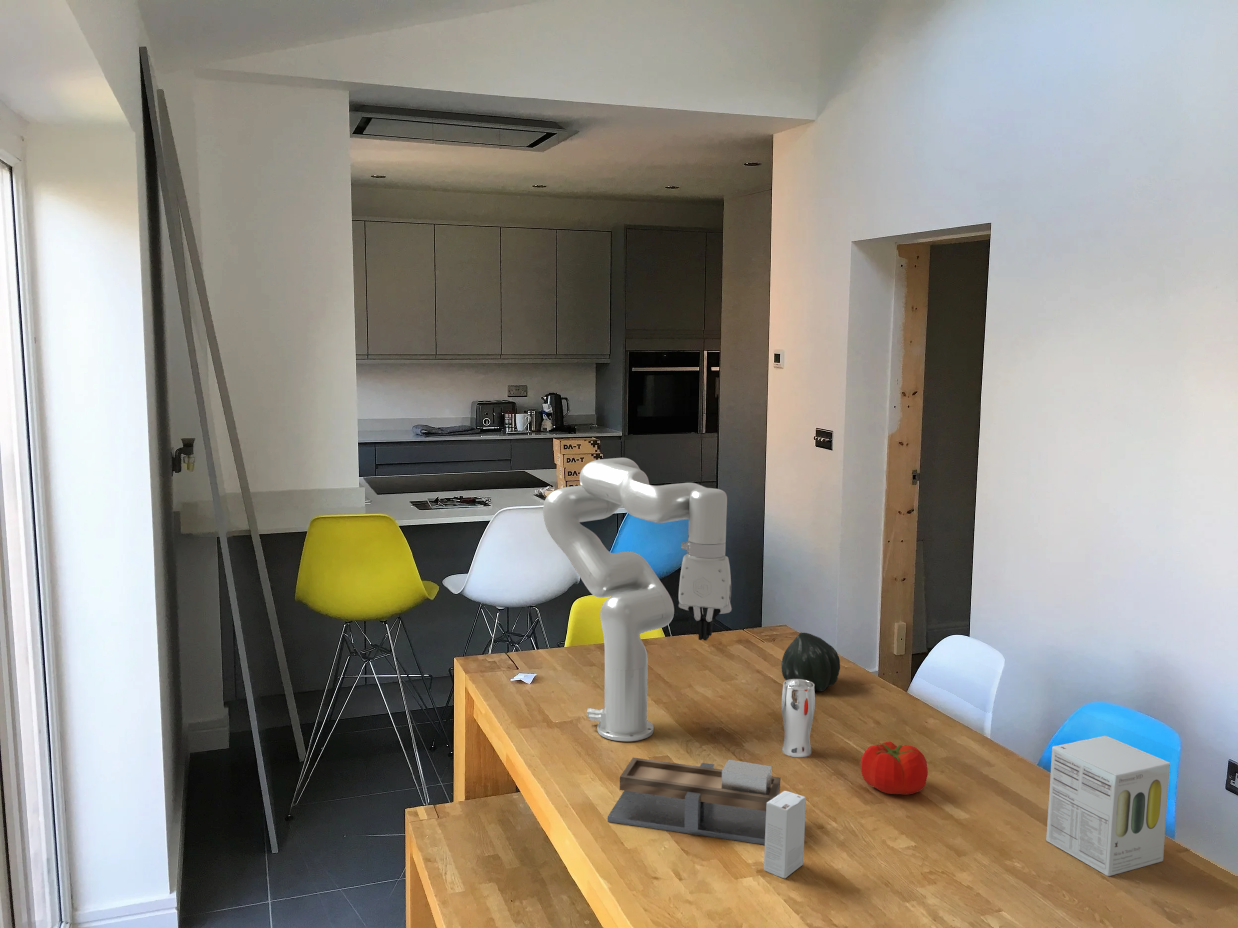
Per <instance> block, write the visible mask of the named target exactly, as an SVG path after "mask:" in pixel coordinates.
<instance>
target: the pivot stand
mask: <svg viewBox="0 0 1238 928" xmlns="http://www.w3.org/2000/svg"><path fill="white" fill-rule="evenodd" d="M699 766H700V767H707V768H714V769H715V764H714V763H707V762H701V763H700V765H699ZM607 823H612V824H613V823H614V824H621V825H629V826H632V827H633V826H635V827H640V828H641V827H642V828H648V829H654V830H661V831H668V832H675V833H681V834H689V835H696V836H701V837H702V836H704V837H710V838H716V839H722V840H730V841H738V842H742V843H744V842H745V843H750V844H757V845H764V846H765V828H766V811H761V810H754V809H747V808H740V807H734V806H727V805H720V804H713V803H706V802H701V793H694V792H687V794H686V796H685V799H679V798H672V797H665V796H658V795H651V794H644V793H637V792H631V791H624V790H623V792H622V793H621V795H620V796H619V798H618V800H617V801H616V803H615V804H614V805H613V807H612V809H611V811H610V812H609V813H608V815H607Z"/></svg>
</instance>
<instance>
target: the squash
mask: <svg viewBox="0 0 1238 928" xmlns="http://www.w3.org/2000/svg"><path fill="white" fill-rule="evenodd" d="M840 670H841V660H840V657H839V654H838V652H837V650H836V649H835V648H834V646H832V645H830V643H828V642H826V641H825V640H824V639H823V638H821V637H819V636H816V635H814V634H812V633H808V632H799V634H797V635H796V637H795V638H794V640H793V641H792V642H790V644H789V645H788V646H787V648H786V649H785V651H784V653H783V656H782V658H781V673H782V677H783V679H784V681H786V680H789V679H803V680H807V681H810V682H812V683H814V690H815V691H817V692H823V691H825V690H826V689H827V688H828V687H832V686H834V685H835V683H837V681H838V679H839V675H840Z"/></svg>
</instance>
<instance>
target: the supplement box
mask: <svg viewBox="0 0 1238 928" xmlns="http://www.w3.org/2000/svg"><path fill="white" fill-rule="evenodd" d="M1050 762H1051V764H1050V777H1049V778H1050V779H1049V781H1050V782H1049V794H1048V795H1049V796H1048V797H1049V798H1048V807H1047V808H1048V810H1047V823H1046V824H1047V825H1046V838H1045V839H1046V842H1048V843H1050V844H1051V845H1053V846H1055V847H1056V848H1057V849H1059V850H1062V851H1064V853H1065V852H1066V853H1067V854H1069V855H1070V856H1072V857H1074V858H1076V859H1077V860H1079V861H1081V862H1083V863H1084V864H1087V865H1088V866H1089V867H1092V868H1093V869H1094V870H1097V871H1099V872H1100V873H1102V874H1104V876H1106V877H1111V876H1114V875H1119V874H1122V873H1125V872H1128V871H1133V870H1137V869H1140V868H1144V867H1146V866H1150V865H1153V864H1157V863H1161V862H1164V855H1165V853H1164V852H1165V840H1166V839H1165V838H1166V825H1167V814H1168V813H1167V811H1168V800H1169V799H1168V797H1169V796H1168V795H1169V786H1170V785H1169V783H1170V773H1171V772H1170V770H1171V762H1169V761H1167V760H1166V759H1165V760H1164V759H1162V758H1160V757H1157V756H1155V755H1153V754H1151V753H1148V752H1145V751H1143V750H1140V749H1139V748H1136V747H1134V746H1131V745H1129V744H1127V743H1125V742H1121V741H1120V740H1117V739H1115V738H1113V737H1109V736H1108V735H1103V736H1097V737H1093V738H1088V739H1087V738H1086V739H1083V740H1077V741H1074V742H1069V743H1065V744H1064V743H1063V744H1060V745H1053V746H1052V749H1051V761H1050Z"/></svg>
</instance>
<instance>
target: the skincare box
mask: <svg viewBox="0 0 1238 928" xmlns="http://www.w3.org/2000/svg"><path fill="white" fill-rule="evenodd" d="M806 805H807V797H806V796H804V795H800V794H797V793H794V792H791V791H788V790H783V791H781V792H779V795H777V796H776V797H774V798H773V799H771V800H770V801H768V802H767V805H766V828H765V845H764V857H763V860H764V861H763V870H764V871H765V872H767V873H769V874H771V875H774V876H776V877H778V878H782V879H786V878H788V877H789V876H790V875H791V874H792V873H794V872H795V871H796V870H798V869H799V868H800V867H801V866H803V865H804V856H805V855H804V853H805V831H806V830H805V829H806V811H807V810H806V808H807V807H806Z"/></svg>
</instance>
